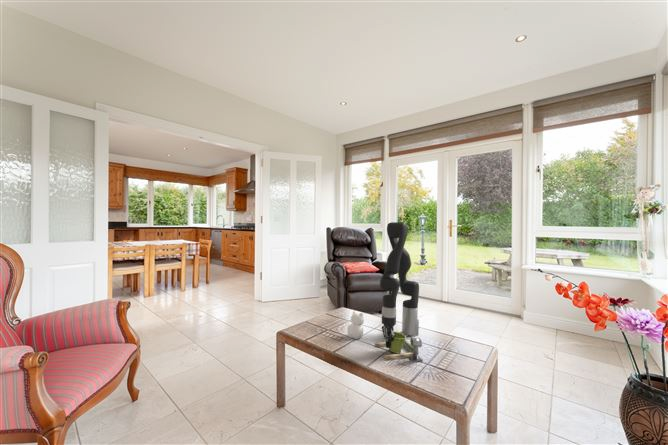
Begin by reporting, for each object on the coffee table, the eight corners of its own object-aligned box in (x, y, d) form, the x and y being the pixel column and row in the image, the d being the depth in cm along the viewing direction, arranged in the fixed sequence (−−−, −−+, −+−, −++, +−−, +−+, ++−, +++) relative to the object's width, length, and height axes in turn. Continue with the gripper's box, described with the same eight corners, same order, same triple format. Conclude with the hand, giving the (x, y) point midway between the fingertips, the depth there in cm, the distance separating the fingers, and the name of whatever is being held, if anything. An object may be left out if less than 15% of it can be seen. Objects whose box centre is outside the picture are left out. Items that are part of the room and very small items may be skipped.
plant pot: (405, 350, 145) (407, 335, 145) (401, 357, 137) (404, 340, 137) (388, 345, 149) (390, 330, 150) (384, 351, 141) (386, 334, 141)
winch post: (417, 356, 138) (417, 331, 138) (422, 361, 133) (423, 335, 133) (404, 357, 136) (405, 332, 136) (409, 362, 131) (410, 336, 132)
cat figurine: (366, 336, 162) (367, 312, 162) (354, 342, 153) (355, 316, 153) (355, 332, 168) (356, 308, 168) (342, 337, 159) (343, 312, 159)
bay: (403, 343, 153) (403, 338, 153) (418, 356, 138) (418, 350, 138) (374, 346, 149) (374, 340, 149) (386, 359, 134) (386, 353, 134)
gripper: (401, 318, 137) (400, 352, 136) (389, 310, 150) (389, 341, 149) (387, 319, 135) (386, 353, 135) (377, 311, 148) (376, 342, 148)
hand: (387, 347), depth 142 cm, fingers closed
